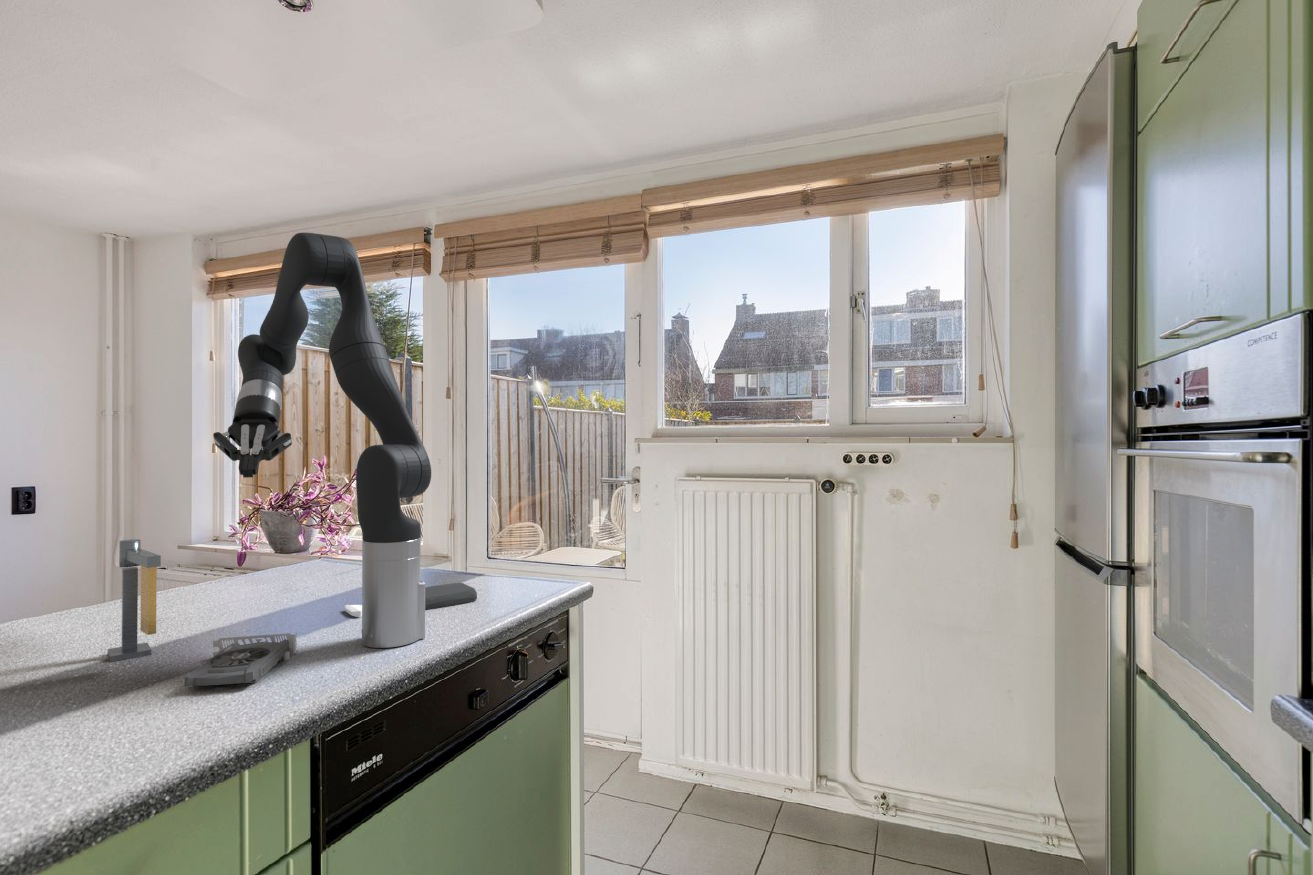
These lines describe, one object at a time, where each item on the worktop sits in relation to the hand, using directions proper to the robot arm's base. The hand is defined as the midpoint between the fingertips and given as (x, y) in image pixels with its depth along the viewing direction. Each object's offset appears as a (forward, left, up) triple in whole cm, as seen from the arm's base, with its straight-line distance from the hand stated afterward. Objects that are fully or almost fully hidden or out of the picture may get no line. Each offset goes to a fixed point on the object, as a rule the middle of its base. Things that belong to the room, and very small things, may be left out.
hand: (247, 474), depth 116 cm
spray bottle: (-29, +2, -29) cm, 41 cm away
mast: (+16, +1, -28) cm, 32 cm away
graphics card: (+6, +21, -29) cm, 36 cm away
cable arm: (+15, +6, -23) cm, 28 cm away
